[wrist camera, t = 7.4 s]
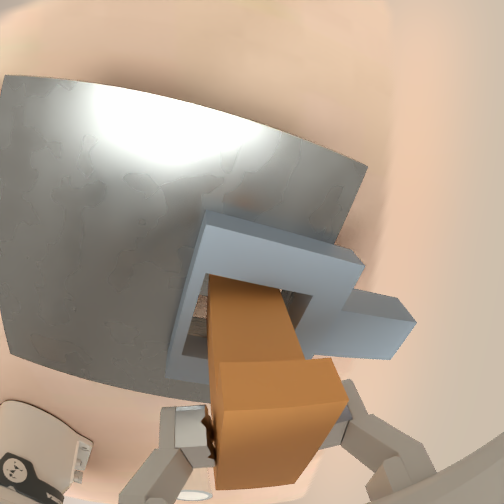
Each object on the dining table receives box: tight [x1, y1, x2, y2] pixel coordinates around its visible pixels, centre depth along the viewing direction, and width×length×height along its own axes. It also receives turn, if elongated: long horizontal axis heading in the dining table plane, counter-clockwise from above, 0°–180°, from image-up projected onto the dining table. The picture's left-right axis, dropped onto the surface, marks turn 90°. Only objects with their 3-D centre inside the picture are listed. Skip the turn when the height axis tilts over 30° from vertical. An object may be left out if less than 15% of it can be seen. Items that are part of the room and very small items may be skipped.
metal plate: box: [0, 75, 368, 403], centre depth 18 cm, size 16×16×10 cm
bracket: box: [165, 210, 417, 385], centre depth 15 cm, size 8×13×3 cm, turn 71°
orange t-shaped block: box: [206, 274, 349, 490], centre depth 11 cm, size 6×3×8 cm, turn 173°
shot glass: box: [177, 467, 212, 501], centre depth 38 cm, size 7×7×7 cm
